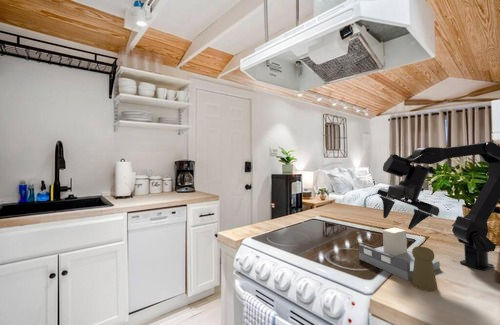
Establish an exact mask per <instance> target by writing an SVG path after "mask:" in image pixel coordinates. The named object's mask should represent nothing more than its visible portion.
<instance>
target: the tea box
mask: <svg viewBox="0 0 500 325" xmlns="http://www.w3.org/2000/svg"><path fill="white" fill-rule="evenodd" d="M382 242H383V243H382V244H383V245H382V246H383V247H384V252H386V253H389V254H392V255H394V256H396V255H399V254H403V253H406V252H407V251H408V244H407V230H405V229H401V228H398V227H391V228H387V229H382Z"/></svg>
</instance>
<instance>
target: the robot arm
mask: <svg viewBox="0 0 500 325" xmlns="http://www.w3.org/2000/svg"><path fill="white" fill-rule="evenodd" d="M477 155H479V156H480V158H481V160H482V161H483V162H485V163H486V164H488V167H487V174H488V178H487V180H486V181H485V183H484V185H483V187H482V189H481V190H480V192H479V193H478V196H477V198H476V200H475V201H474V203H473V205H472V207H471V208H470V210H469V212H468V213H467V214H466V215H464V216H460V215H457V217H456V219H455V221H454V223H453V224H452V225H451V226H452V231H451V232H452V234H453V236H454V237H455V238H456V239H457V241H458V242H459V243H461V244H463V248H464V259H463V260H460V261H459V264H461V265H465V266H469V267H471V268H474V269H478V270H480V271H486V270H489V269H491V268H494V266H495V264H493V263H489V253H490V252H495V250H496V247H497V245H496V243H494V242H493V240H490V238H488V237H487V236H488V234H489V227H488V220H489V219H490V217H491V215H492V214H493V212H494V210H495V209H496V207H497V205H498V203H499V201H500V145H498V144H497V143H495V142H492V141H482V142H477V143H472V144H465V145H463V144H462V145H456V146H448V147H440V146H439V147H434V146H429V147H428V146H427V147H420V148H419V147H418V148H415V149H414V150H413V151H412V153H411V154H409V155H408V156H406V157H403V156H400V155H398V154H395V153H391V154H390V156H389V157H388V158H387V159H386V161H385V162H383V165H382V166H383V167H382V171H383V172H385V173H388V174H390V175H393V176H396V177H398V178H402V177H403V176H404V179H403V180H400V181H399V183H398V184H391V185H388V189H386V188H383V187H380V188H379V189H378V190H377V193H376V194H377V195H378V198H380V199H381V201H382V204H383V208H382V209H383V212H382V214H383V216H382V217H383V219H387V218H388V216H389V214H390V212H392V211H391V210H392V208H393V207H394V206H395V203H396V201H399V202H401V203H404V204H407V205H410V206H413V207H415V208H414V209H413V215H412V218H411V219H410V222H409V224H408V228H407V229H408V230H409V231H410V230H413V228H414V227H416V226H417V225H418V224H420V223H421V222H423V221H424V220H425V219H427V218H428V217H430V218H432V217H433V216H436V217H439V214H440V208H439V207H438V206H436V205H433V204H431V203H427V202H425V201H422V200H420V199H419V196H420V194H421V192H424V190H425V188H424V184H425V181H426V180H427V177H428V174H429V175H437V172H436V171H435V169H434V168H433V166H431V165H433V164H436V163H440V162H443V161H445V160H449V159H455V158H462V157H469V156H477ZM412 164H413V165H412ZM414 164H415V165H414ZM424 165H430V166H424ZM395 200H396V201H395ZM416 208H417V209H416Z"/></svg>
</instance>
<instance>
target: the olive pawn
mask: <svg viewBox="0 0 500 325" xmlns="http://www.w3.org/2000/svg"><path fill="white" fill-rule="evenodd" d="M411 250H412V251H411V252H412V254H413V257H414V258H415V260H414V269H413V278H412V279H411V285H412V286H413V287H414V288H416V289H418V290H421V291H424V292H437V291H438V283H437V278H436V274H435V271H434V268H433V263H432V261H433V260H435V253H434V251H433V249H431V248H429V247H426V246H415V247H412V249H411Z"/></svg>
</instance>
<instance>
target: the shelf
mask: <svg viewBox="0 0 500 325" xmlns="http://www.w3.org/2000/svg"><path fill="white" fill-rule="evenodd" d="M358 259H359V260H361V261H362V262H365V263H367V264H370V265H372V266H373V267H376V268H379V269H381V270H383V271H385V270H386V271H385V272H387V271H388V272H387V273H389V274H390V273H391V274H392V275H395V276H397V277H399V278H402V279H404V280H405V281H412V278H413V269H414V260H415V258H414V257H413V254H412V251H408V250H407V252H406V253H403V254H399V255H396V256H394V255H392V254H389V253H386V252H384V247H383V245H382V246H378V247H375V248H373V247H371V246H368V245H365V244H363V243H360V244H358ZM432 263H433V268H434V272H435V271H438V270H440V268H441V267H440V264H441V262H440V261H439V260H437V259H434V260H433V261H432Z"/></svg>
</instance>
